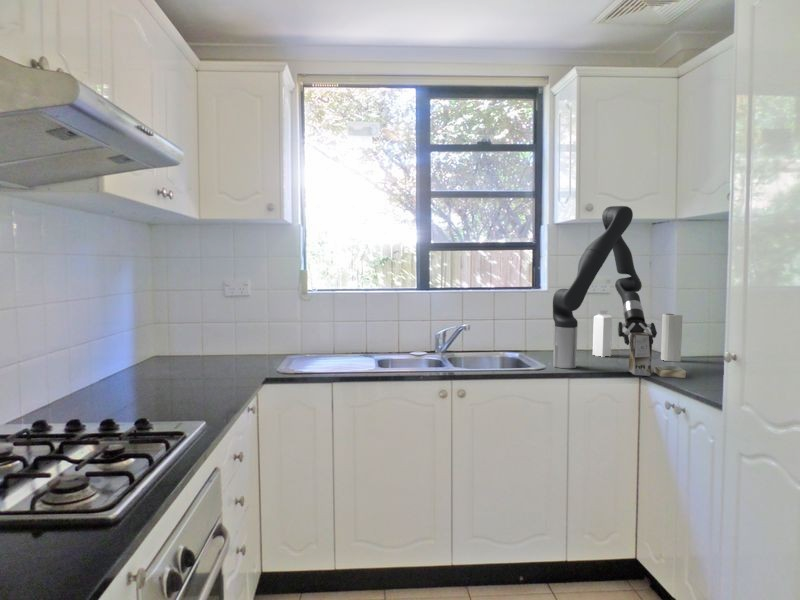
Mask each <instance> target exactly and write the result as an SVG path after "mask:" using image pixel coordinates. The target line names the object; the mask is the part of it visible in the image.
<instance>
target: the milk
mask: <svg viewBox="0 0 800 600" xmlns="http://www.w3.org/2000/svg"><path fill="white" fill-rule="evenodd" d="M592 322H593V328H592V329H593V330H592V356H593V355H595V356H594V357H598V356H601V357H600V358H606V357H605V356H609V357H612V342H613V341H612V339H613V338H612V335H613V334H612V333H613V316H612V315H610V313H608V310H607V309H601V310H600V309H599V310H598V313H597V314H596V315H594V316H593V321H592Z"/></svg>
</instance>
